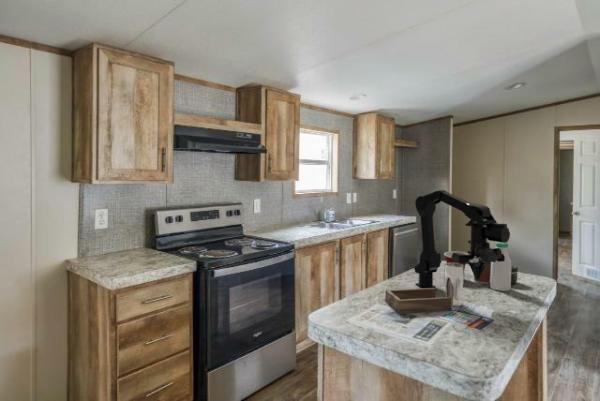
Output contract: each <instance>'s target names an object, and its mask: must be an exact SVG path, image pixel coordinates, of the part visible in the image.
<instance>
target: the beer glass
mask: <svg viewBox="0 0 600 401" xmlns="http://www.w3.org/2000/svg"><path fill="white" fill-rule="evenodd" d="M443 279H444V280H443V281H444V286H445V297H451V298H452V299H451V307H461V306H462V304H463V302H462V301H463V300H462V291H463V288H464V287H463V285H464V284H465V283H464V282H465V280H464V279H465V269H464V265H463V264H459V263H447V262H446V263H444V275H443Z"/></svg>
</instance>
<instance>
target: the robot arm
mask: <svg viewBox="0 0 600 401" xmlns="http://www.w3.org/2000/svg"><path fill="white" fill-rule="evenodd" d="M441 202H442V203H444V204H446V205H448V206H451V207H452V208H455V209H456V210H459V211H460V212H462V213H463V214H464V216H465V217H466V218H468V219H469V221H467V223H465V225H464V226H467V227H470V236H469V237H470V238H469V240H467V241H468V242H467V243H468V244H470V245H469V250H467V254H468V255H467V254H464V253H465V252H464V253H462V252H463V251H460V252H461V253H453V254H452V260H454V261H456V262H459V263H466V264H468V265H469V267H470V269H471V271H472V274H473V277H474V276H475V279H477V280H478V279H479V278H480V276H481V274H482V272H483V270H484V268H485V266H487V265H488V264H491V262H496V260H497V261H498V262H501V261H505V256H504V254H502V251H501V249H500V248H496V247H495V248H491V246H490V245H491V244H490V242H488V241H491V242H495V243H496V242H502V243H508V242H509V239H510V237H511V232H510V230H509V228H508V225H507V224H508V223H498V222H497V221H496V219H495V217H494V216H493V214H492V213H491V208H490V207H489V206H487V205H483V204H480V203H475V202H470V201H468V200H465V199H463V198H461V197H458V196H456V195H455V194H452V193H450V192H448V191H447V190H445V189H439V190H435V191H433V192H431V193H427V194H426V195H420V196H418V197H417V198H416V199H415V201H414V205H415V209H416V212H417V213H418V216H420V228H421V242H422V244H421V245H422V251H421V253H420V256H419V263H418V264H417V265H416V266H415V267H414V268H413V269H414V272H415V273H416V274H418V282H415V285H416V286H417V287H419V289H420V288H435V289H436V288H437V286H435V285H434V281H433V280H434V278H433V277H434V276H433V275H434V273H437V271H438V269H439V267H441V264H442V260H441V257H442V255H441V253H440V252H439V253H438V252H437V251H436V247H435V235H434V220H433V218H434V214H435V211H436V205H438V204H440V203H441Z"/></svg>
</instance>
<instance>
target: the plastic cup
mask: <svg viewBox="0 0 600 401" xmlns="http://www.w3.org/2000/svg"><path fill="white" fill-rule="evenodd" d="M461 252H462V253H464V254H467V255H469V254H468V252H464V251H456V250H455V251H454V250H452V251H446V252H444V253H443V255H444V258H445V261H446V263H459V262H456V261H454V260H452V254H453V253H461ZM459 264H463V265H464V270H466V264H467V263H459Z"/></svg>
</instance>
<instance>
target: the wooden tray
mask: <svg viewBox="0 0 600 401" xmlns="http://www.w3.org/2000/svg"><path fill="white" fill-rule="evenodd" d="M436 290H437V289H436V288H420V287H419V288H405V289H404V288H403V289H401V288H400V289H386V290H385V298H384V302H386V303H387V304H388V305H389V306H390V307H391V308H393V310H395V312H397V313H398V314H400V315H404V314H419V313H420V314H421V313H437V312H438V313H439V312H452V311H453V308H452V306H451V299H452V298H451V297H446V296H445V297H444V296H443V297H442V296H441V297H436V296H437V295H436V294H437V292H436Z"/></svg>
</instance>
